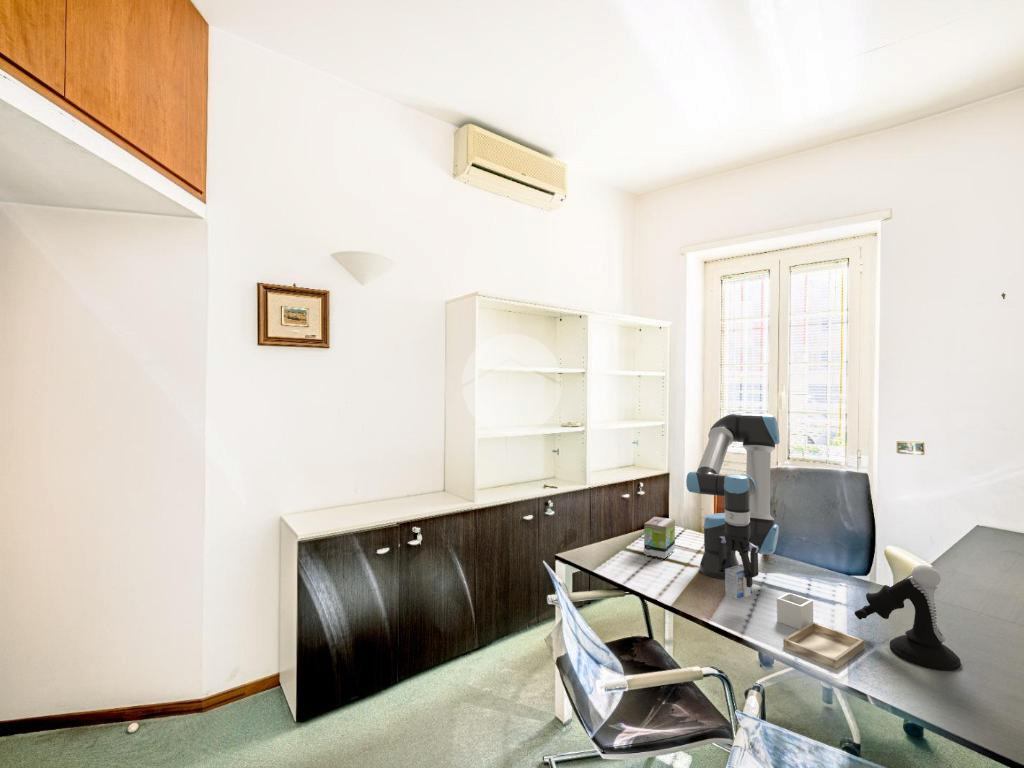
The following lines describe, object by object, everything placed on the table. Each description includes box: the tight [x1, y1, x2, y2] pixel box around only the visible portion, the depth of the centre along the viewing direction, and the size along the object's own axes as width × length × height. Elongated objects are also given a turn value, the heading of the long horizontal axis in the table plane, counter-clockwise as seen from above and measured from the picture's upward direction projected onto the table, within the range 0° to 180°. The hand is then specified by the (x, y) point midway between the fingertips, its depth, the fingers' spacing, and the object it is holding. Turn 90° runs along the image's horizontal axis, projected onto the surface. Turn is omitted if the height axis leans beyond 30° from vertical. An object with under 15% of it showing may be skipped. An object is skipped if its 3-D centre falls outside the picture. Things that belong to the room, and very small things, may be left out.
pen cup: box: [776, 592, 814, 630], centre depth 154 cm, size 7×7×8 cm
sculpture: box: [854, 564, 962, 672], centre depth 139 cm, size 15×24×25 cm, turn 41°
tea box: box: [643, 516, 676, 559], centre depth 221 cm, size 15×10×15 cm
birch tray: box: [783, 621, 865, 670], centre depth 139 cm, size 14×18×3 cm
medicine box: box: [724, 563, 753, 600], centre depth 162 cm, size 8×4×9 cm, turn 118°
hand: (738, 592), depth 162 cm, fingers closed on medicine box, 5 cm apart
